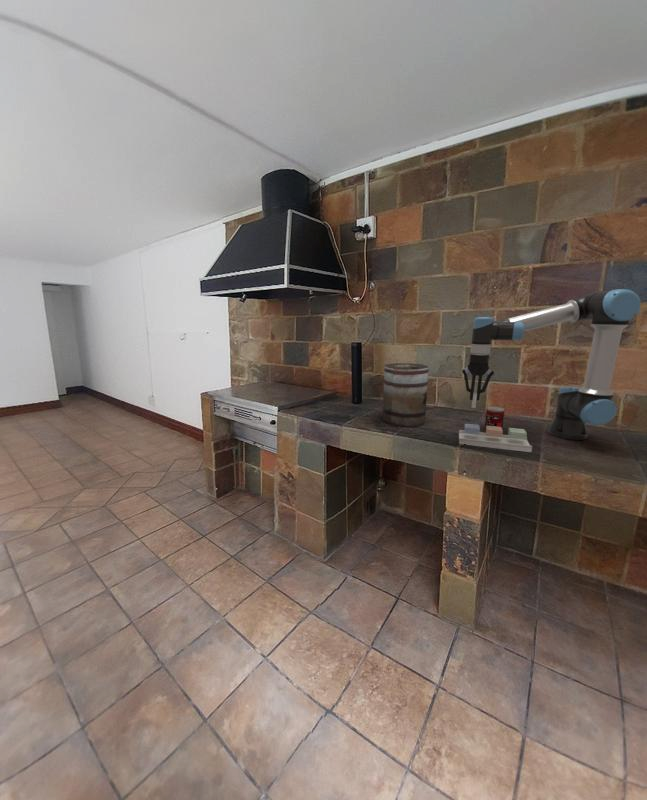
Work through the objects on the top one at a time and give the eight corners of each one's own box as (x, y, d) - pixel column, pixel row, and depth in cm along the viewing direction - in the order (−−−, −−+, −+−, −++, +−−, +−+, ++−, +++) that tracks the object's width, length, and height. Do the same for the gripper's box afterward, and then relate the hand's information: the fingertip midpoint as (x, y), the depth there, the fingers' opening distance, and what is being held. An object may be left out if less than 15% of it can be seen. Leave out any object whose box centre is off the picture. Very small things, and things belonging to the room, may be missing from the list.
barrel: (432, 421, 182) (437, 366, 175) (409, 430, 167) (412, 370, 160) (398, 412, 198) (400, 362, 191) (373, 420, 184) (375, 366, 176)
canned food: (480, 428, 170) (483, 407, 167) (493, 426, 172) (495, 405, 170) (493, 433, 163) (495, 411, 160) (505, 431, 165) (508, 409, 163)
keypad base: (525, 442, 151) (526, 437, 150) (531, 452, 140) (532, 446, 139) (458, 435, 160) (459, 430, 160) (459, 443, 150) (459, 438, 149)
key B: (500, 433, 151) (501, 427, 150) (502, 438, 145) (502, 431, 145) (485, 432, 153) (486, 425, 152) (486, 436, 147) (487, 429, 147)
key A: (523, 435, 148) (524, 429, 147) (525, 440, 142) (526, 433, 141) (507, 434, 150) (508, 427, 149) (509, 438, 144) (510, 431, 144)
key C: (478, 431, 154) (479, 424, 153) (479, 435, 148) (479, 428, 148) (464, 429, 156) (464, 423, 155) (464, 434, 151) (465, 427, 150)
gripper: (495, 353, 145) (488, 406, 151) (463, 352, 149) (457, 403, 155) (497, 355, 138) (490, 410, 144) (463, 354, 143) (457, 407, 148)
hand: (473, 407), depth 149 cm, fingers closed
